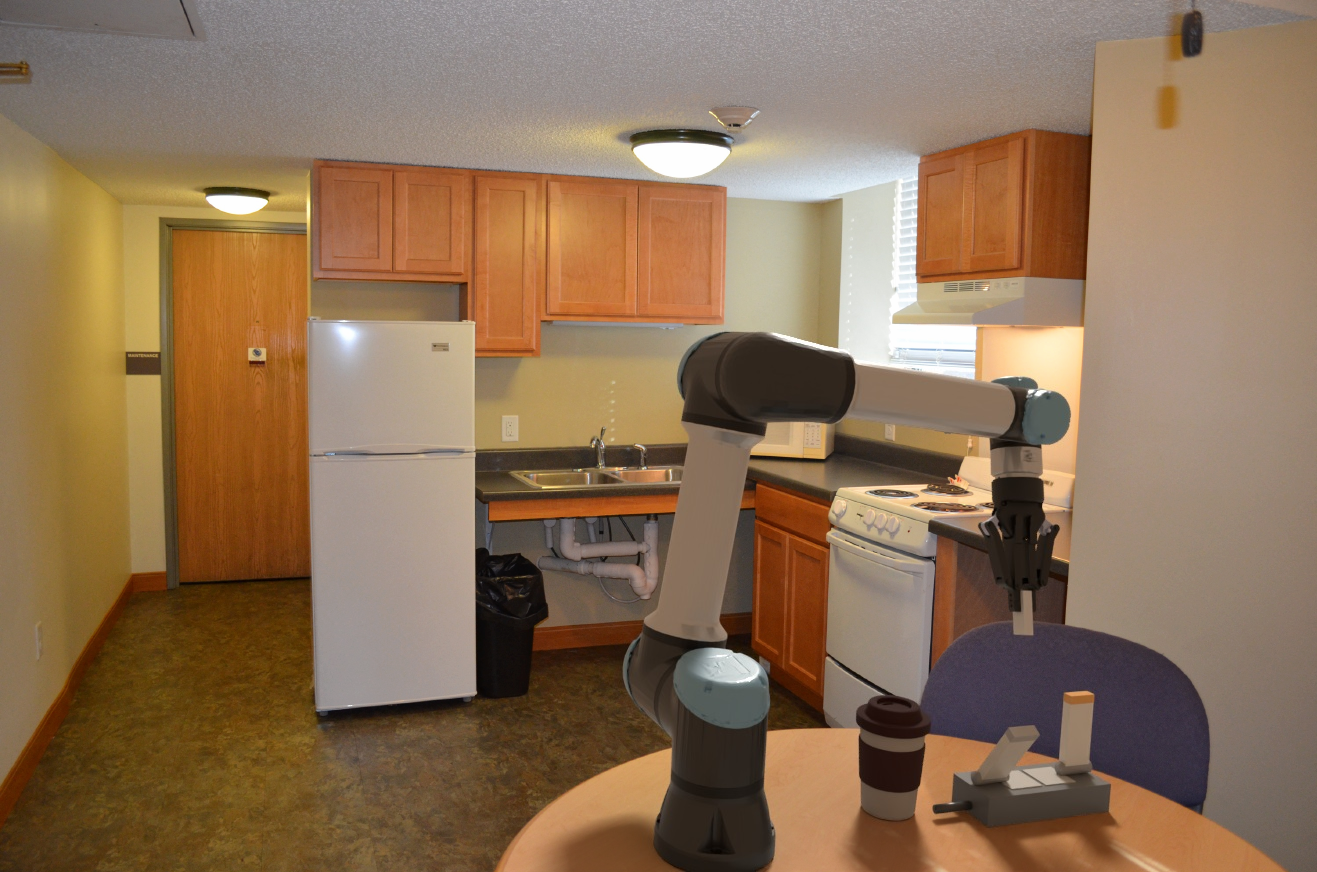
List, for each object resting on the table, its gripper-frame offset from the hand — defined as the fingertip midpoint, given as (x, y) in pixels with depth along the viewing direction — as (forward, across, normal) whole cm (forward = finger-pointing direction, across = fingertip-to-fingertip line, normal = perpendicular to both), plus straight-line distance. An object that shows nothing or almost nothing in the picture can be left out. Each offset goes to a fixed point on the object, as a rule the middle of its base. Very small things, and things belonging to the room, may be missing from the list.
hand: (1023, 634), depth 145 cm
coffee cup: (+24, -24, -2) cm, 34 cm away
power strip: (+24, -6, -4) cm, 25 cm away
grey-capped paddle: (+19, -10, -6) cm, 22 cm away
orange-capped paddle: (+18, +4, -5) cm, 19 cm away
